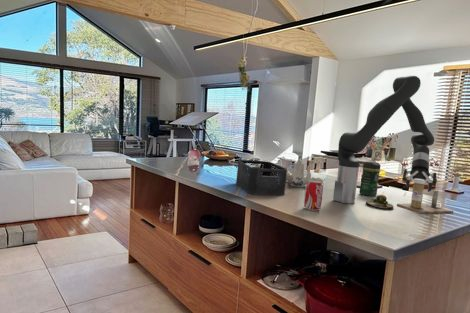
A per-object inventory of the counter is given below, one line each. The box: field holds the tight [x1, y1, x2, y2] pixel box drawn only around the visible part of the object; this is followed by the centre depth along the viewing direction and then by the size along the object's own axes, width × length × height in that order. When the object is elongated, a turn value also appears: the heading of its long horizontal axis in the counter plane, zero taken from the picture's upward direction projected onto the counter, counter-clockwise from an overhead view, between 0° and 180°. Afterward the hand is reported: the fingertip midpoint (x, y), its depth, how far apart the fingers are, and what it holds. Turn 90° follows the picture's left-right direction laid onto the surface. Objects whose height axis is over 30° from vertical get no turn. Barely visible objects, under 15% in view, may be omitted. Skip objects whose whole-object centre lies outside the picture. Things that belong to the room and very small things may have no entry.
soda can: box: [303, 180, 324, 212], centre depth 136 cm, size 7×7×12 cm
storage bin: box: [236, 159, 288, 196], centre depth 170 cm, size 29×19×13 cm
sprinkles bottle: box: [410, 178, 426, 208], centre depth 153 cm, size 5×5×13 cm
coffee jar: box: [358, 161, 381, 197], centre depth 180 cm, size 10×8×19 cm
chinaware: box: [285, 158, 325, 188], centre depth 193 cm, size 28×17×17 cm, turn 57°
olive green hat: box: [365, 191, 394, 211], centre depth 152 cm, size 12×12×8 cm
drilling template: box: [396, 190, 454, 215], centre depth 155 cm, size 20×14×9 cm
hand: (418, 189), depth 154 cm, fingers open, 8 cm apart
